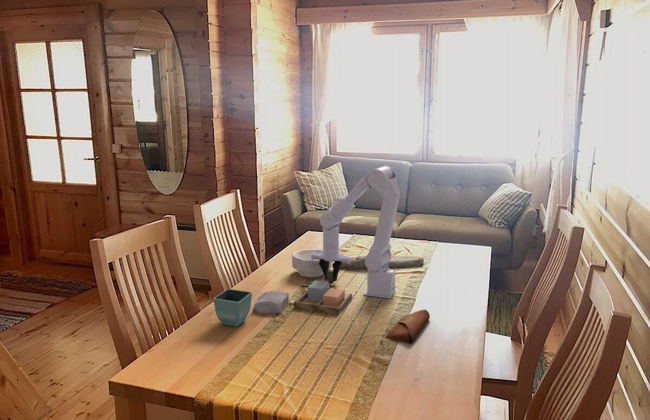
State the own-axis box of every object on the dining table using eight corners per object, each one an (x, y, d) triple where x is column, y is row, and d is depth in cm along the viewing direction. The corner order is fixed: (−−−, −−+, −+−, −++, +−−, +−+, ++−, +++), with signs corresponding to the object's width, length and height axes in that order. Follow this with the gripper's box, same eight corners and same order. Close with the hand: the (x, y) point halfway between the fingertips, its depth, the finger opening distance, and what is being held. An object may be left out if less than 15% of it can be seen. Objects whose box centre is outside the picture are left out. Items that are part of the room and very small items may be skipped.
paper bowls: (338, 270, 204) (338, 251, 202) (319, 283, 190) (319, 262, 189) (304, 265, 211) (304, 246, 209) (284, 276, 197) (284, 256, 196)
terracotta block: (344, 302, 173) (344, 289, 172) (337, 310, 167) (337, 297, 166) (330, 300, 175) (330, 287, 174) (323, 308, 168) (322, 295, 167)
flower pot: (253, 318, 160) (252, 291, 158) (240, 330, 152) (238, 302, 150) (228, 315, 163) (227, 288, 161) (214, 326, 155) (212, 298, 153)
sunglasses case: (403, 314, 163) (414, 299, 160) (421, 328, 161) (433, 313, 158) (383, 338, 147) (395, 322, 144) (403, 354, 145) (416, 338, 142)
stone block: (253, 318, 165) (283, 314, 164) (250, 304, 165) (280, 299, 163) (263, 305, 177) (291, 300, 175) (260, 291, 176) (288, 287, 174)
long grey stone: (427, 271, 207) (419, 264, 217) (428, 258, 206) (420, 252, 216) (341, 271, 202) (337, 264, 212) (342, 258, 201) (337, 252, 211)
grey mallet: (337, 284, 189) (337, 270, 188) (321, 301, 173) (321, 286, 172) (325, 282, 190) (325, 269, 189) (307, 299, 175) (307, 284, 174)
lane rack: (352, 298, 176) (352, 292, 175) (338, 314, 163) (338, 308, 162) (309, 293, 181) (309, 287, 180) (293, 308, 168) (293, 301, 168)
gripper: (308, 245, 185) (308, 281, 188) (346, 249, 180) (346, 286, 183) (315, 240, 191) (315, 275, 194) (352, 243, 186) (352, 279, 189)
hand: (331, 279), depth 189 cm, fingers closed on grey mallet, 3 cm apart
